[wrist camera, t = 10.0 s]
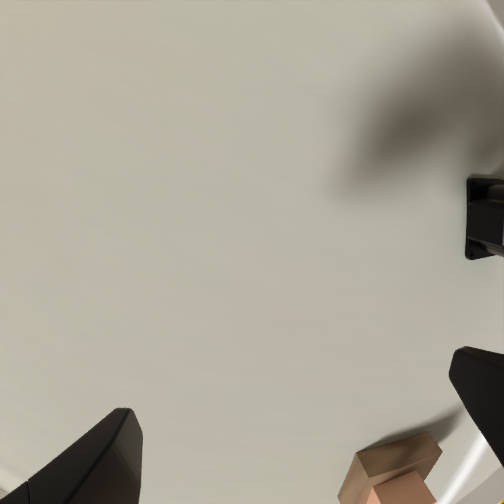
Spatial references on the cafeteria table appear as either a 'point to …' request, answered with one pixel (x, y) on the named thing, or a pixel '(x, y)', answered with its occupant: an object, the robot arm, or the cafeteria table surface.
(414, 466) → the walnut block
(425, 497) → the terracotta block
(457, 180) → the cafeteria table surface
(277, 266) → the cafeteria table surface
